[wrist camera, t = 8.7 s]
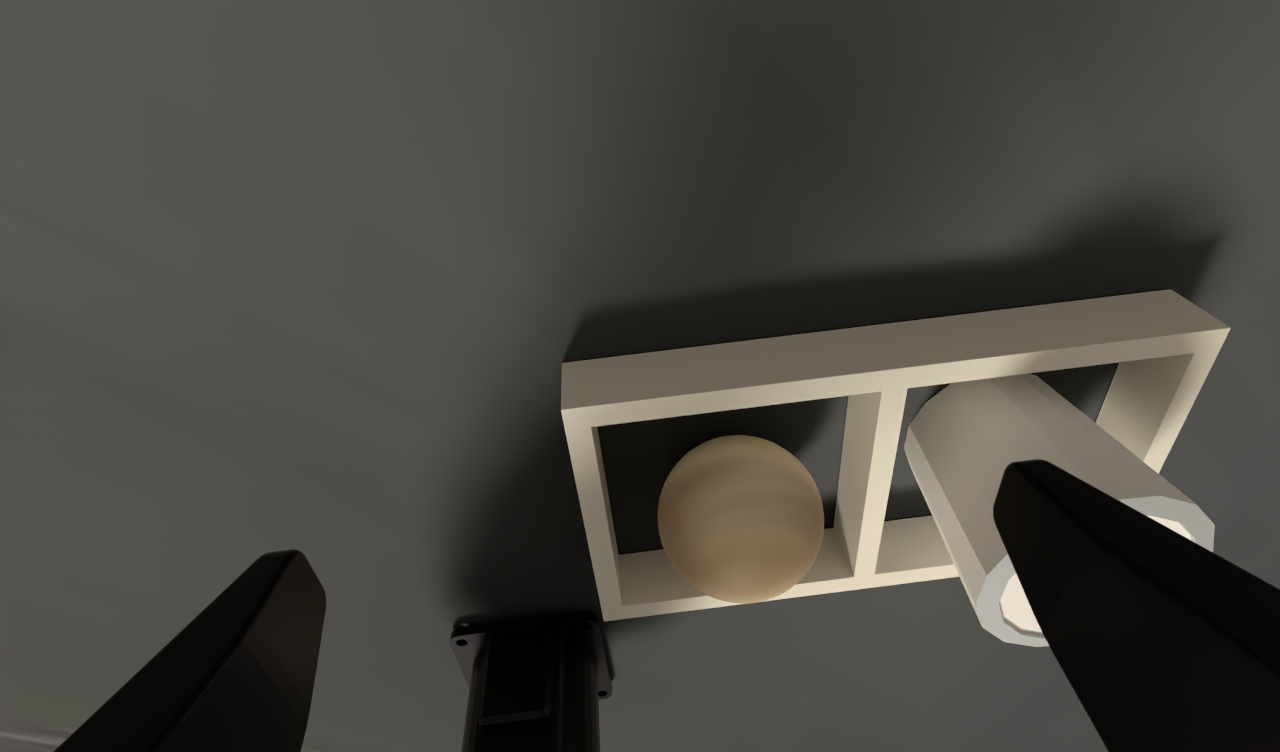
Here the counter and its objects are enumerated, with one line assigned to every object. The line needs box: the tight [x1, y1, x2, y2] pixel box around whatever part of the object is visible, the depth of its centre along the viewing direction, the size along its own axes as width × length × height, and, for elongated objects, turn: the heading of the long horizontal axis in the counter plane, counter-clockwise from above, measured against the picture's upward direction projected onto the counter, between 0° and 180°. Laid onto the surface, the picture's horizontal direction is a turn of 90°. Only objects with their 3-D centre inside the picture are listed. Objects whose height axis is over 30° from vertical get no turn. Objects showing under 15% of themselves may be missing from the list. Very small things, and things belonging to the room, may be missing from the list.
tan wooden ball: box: [658, 435, 824, 603], centre depth 23 cm, size 6×6×6 cm
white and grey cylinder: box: [904, 373, 1215, 647], centre depth 23 cm, size 7×7×7 cm
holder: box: [561, 289, 1231, 622], centre depth 24 cm, size 11×20×2 cm, turn 95°
